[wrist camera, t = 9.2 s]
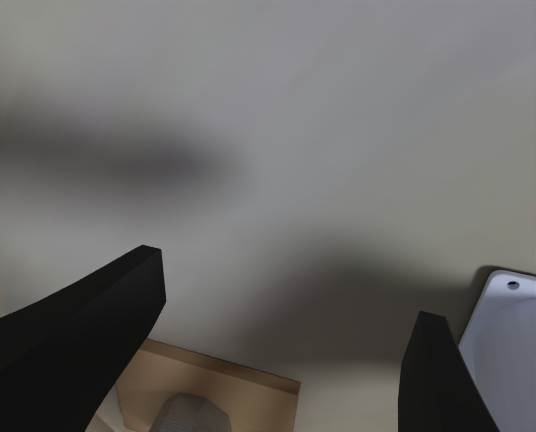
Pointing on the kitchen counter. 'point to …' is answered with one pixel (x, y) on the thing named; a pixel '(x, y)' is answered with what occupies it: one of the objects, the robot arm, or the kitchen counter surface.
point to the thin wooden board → (204, 389)
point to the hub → (190, 415)
